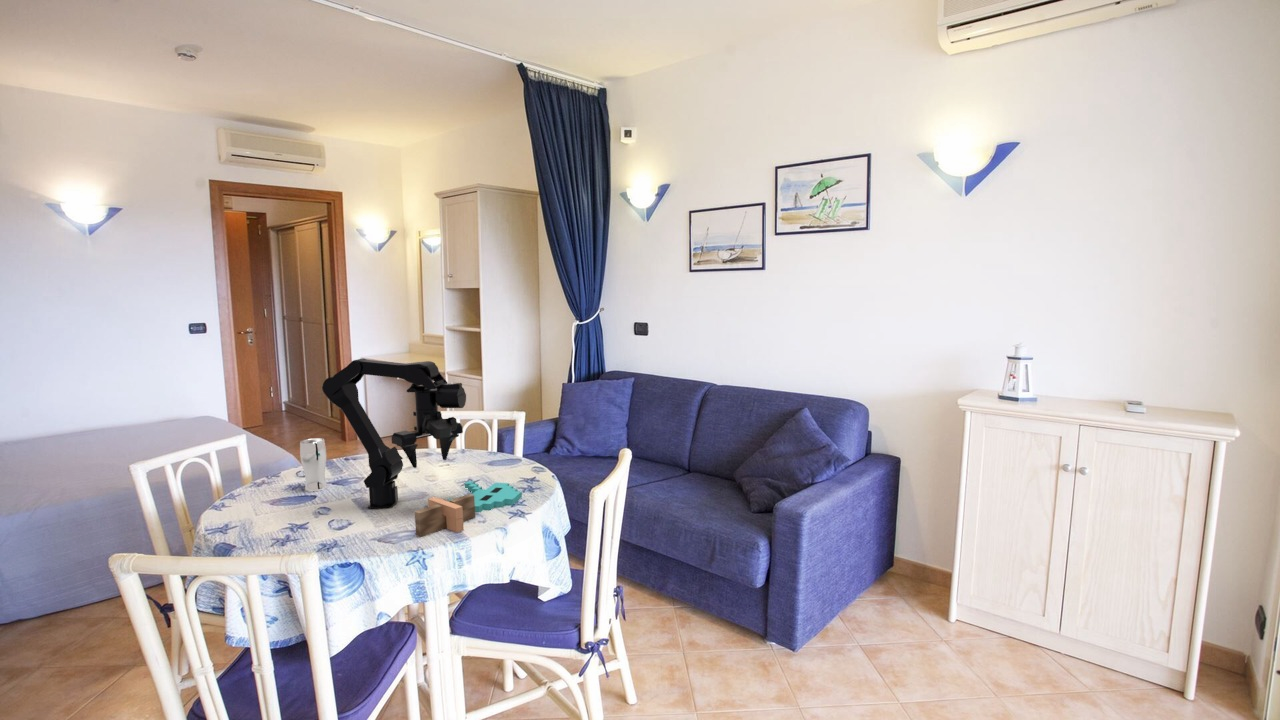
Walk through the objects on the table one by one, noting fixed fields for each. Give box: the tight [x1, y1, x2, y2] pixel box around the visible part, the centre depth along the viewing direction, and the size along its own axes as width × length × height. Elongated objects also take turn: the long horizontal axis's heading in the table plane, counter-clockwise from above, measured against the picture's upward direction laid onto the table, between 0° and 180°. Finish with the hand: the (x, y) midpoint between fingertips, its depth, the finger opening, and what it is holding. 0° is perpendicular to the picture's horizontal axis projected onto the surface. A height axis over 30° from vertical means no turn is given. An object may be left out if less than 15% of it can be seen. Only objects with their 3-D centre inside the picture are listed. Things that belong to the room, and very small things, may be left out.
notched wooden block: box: [414, 493, 476, 538], centre depth 158 cm, size 16×2×6 cm, turn 141°
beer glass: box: [299, 437, 328, 493], centre depth 190 cm, size 7×7×15 cm
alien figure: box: [446, 480, 523, 513], centre depth 178 cm, size 20×2×20 cm
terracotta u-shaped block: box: [427, 496, 464, 533], centre depth 159 cm, size 12×2×6 cm, turn 51°
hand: (430, 463), depth 172 cm, fingers open, 9 cm apart
